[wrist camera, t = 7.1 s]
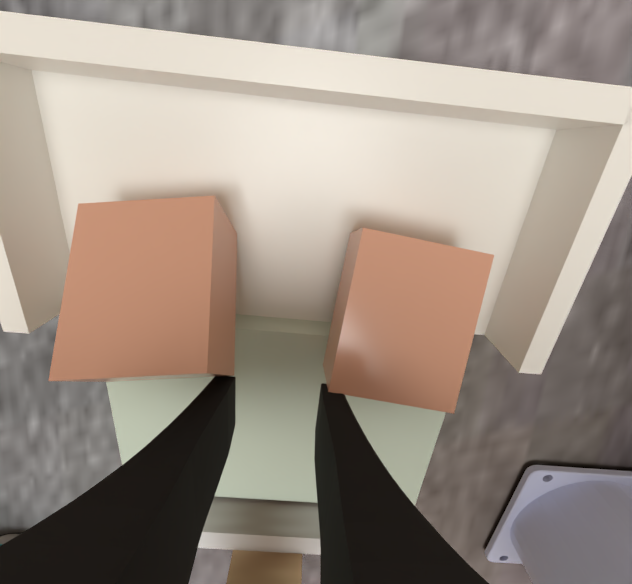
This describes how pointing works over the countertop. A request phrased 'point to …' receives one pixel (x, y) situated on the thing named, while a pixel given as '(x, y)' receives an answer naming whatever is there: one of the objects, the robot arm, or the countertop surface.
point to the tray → (306, 165)
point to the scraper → (263, 538)
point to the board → (278, 415)
